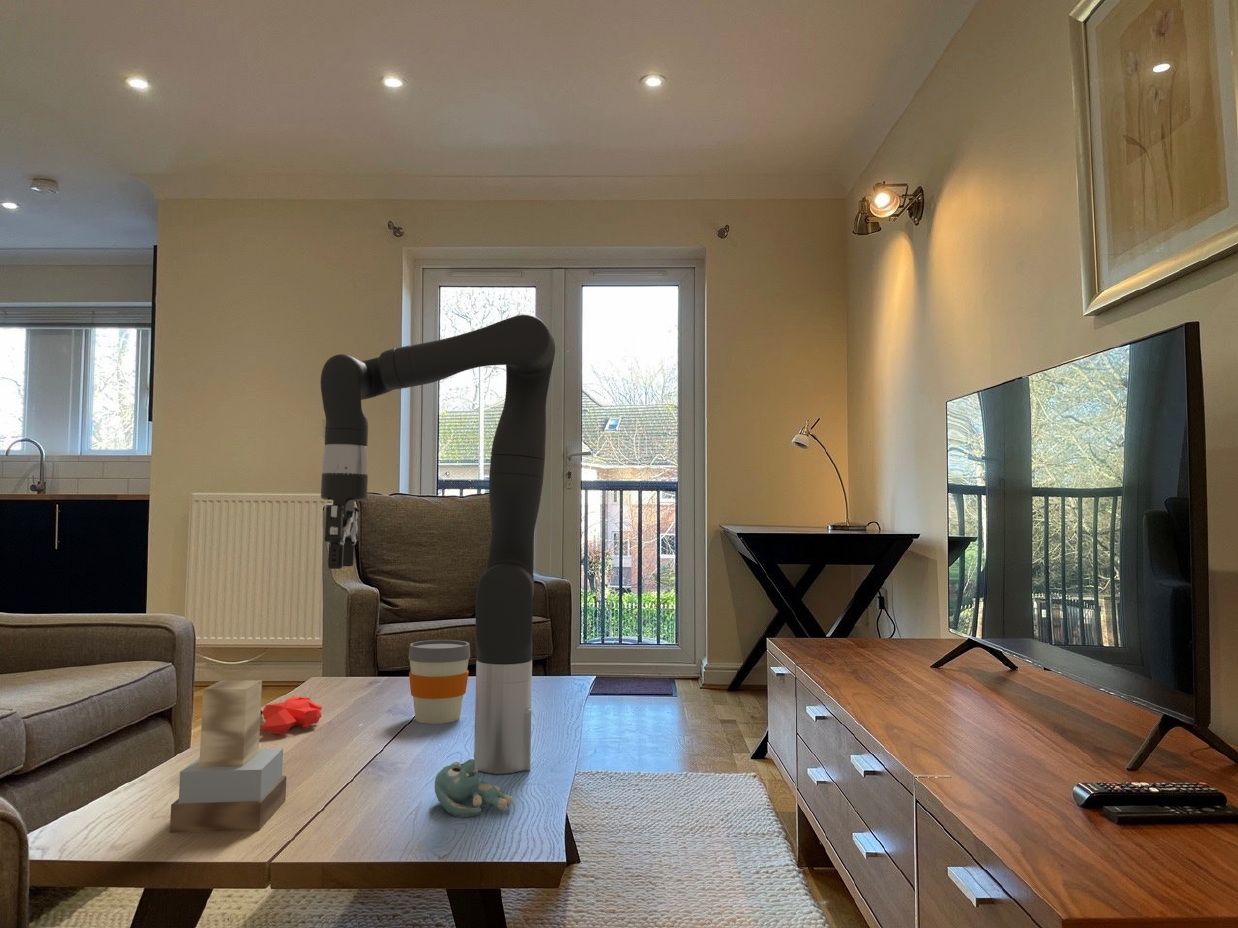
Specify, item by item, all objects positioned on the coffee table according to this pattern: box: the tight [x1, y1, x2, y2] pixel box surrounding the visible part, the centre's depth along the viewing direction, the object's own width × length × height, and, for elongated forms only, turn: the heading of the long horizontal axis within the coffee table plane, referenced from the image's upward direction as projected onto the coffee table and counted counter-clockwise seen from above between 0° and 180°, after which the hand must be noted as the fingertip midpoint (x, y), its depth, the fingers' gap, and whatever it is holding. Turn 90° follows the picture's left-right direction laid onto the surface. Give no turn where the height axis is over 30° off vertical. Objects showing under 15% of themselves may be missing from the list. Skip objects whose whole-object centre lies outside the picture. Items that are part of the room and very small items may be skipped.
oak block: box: [199, 679, 263, 767], centre depth 109 cm, size 6×6×10 cm
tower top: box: [178, 747, 284, 804], centre depth 108 cm, size 10×10×4 cm
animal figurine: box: [260, 696, 323, 736], centre depth 154 cm, size 12×15×5 cm
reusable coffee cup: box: [407, 639, 471, 725], centre depth 164 cm, size 13×13×15 cm
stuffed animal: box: [434, 758, 514, 818], centre depth 113 cm, size 11×7×12 cm
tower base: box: [169, 775, 287, 834], centre depth 108 cm, size 11×11×4 cm
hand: (341, 567), depth 136 cm, fingers open, 8 cm apart
